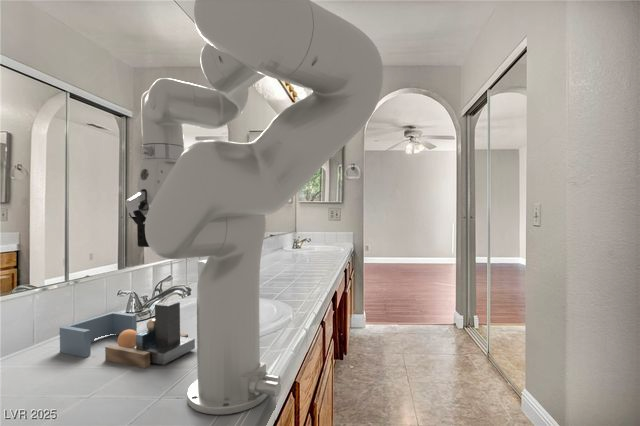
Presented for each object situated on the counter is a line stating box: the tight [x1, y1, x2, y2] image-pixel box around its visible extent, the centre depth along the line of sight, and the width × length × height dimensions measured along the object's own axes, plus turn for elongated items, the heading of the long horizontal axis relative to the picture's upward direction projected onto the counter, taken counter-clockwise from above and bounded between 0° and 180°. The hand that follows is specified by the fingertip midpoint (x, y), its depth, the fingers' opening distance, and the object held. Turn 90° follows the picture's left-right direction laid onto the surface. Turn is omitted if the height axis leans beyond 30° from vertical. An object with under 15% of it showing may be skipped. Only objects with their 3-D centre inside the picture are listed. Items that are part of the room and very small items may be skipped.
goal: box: [59, 311, 138, 358], centre depth 81 cm, size 7×12×5 cm, turn 158°
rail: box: [104, 332, 189, 369], centre depth 76 cm, size 10×11×2 cm
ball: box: [116, 329, 139, 349], centre depth 78 cm, size 4×4×4 cm
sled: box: [135, 300, 196, 365], centre depth 74 cm, size 8×8×10 cm
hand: (165, 244), depth 73 cm, fingers open, 9 cm apart
